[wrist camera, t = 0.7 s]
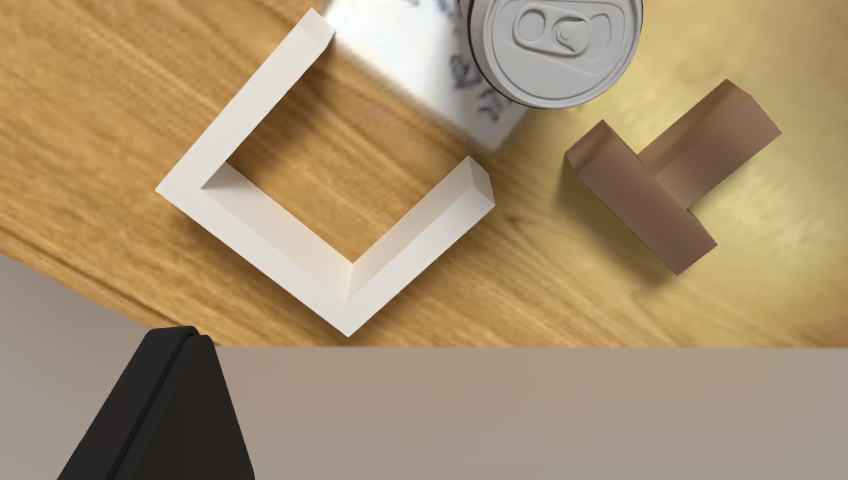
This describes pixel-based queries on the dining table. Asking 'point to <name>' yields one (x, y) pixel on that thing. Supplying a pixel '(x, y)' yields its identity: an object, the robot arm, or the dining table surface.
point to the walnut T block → (674, 170)
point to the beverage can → (552, 47)
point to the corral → (289, 238)
